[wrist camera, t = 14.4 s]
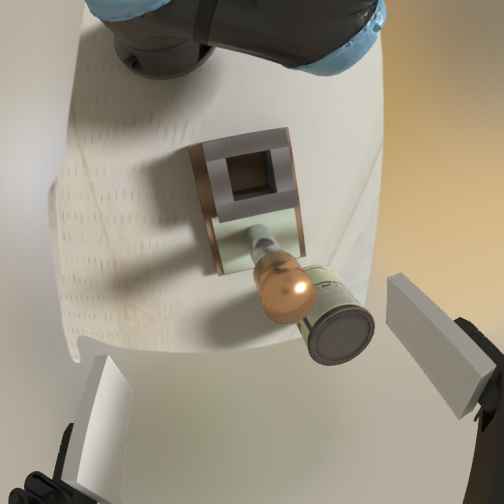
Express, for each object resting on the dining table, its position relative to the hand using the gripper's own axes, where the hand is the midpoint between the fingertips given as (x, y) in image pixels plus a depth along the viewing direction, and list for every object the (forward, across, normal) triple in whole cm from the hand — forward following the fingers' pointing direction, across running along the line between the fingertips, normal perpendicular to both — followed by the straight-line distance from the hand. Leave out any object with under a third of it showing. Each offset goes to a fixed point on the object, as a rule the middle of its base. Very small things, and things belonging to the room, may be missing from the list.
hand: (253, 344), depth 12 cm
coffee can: (+33, +11, -22) cm, 41 cm away
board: (+33, +4, -3) cm, 34 cm away
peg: (+31, +4, -8) cm, 32 cm away
